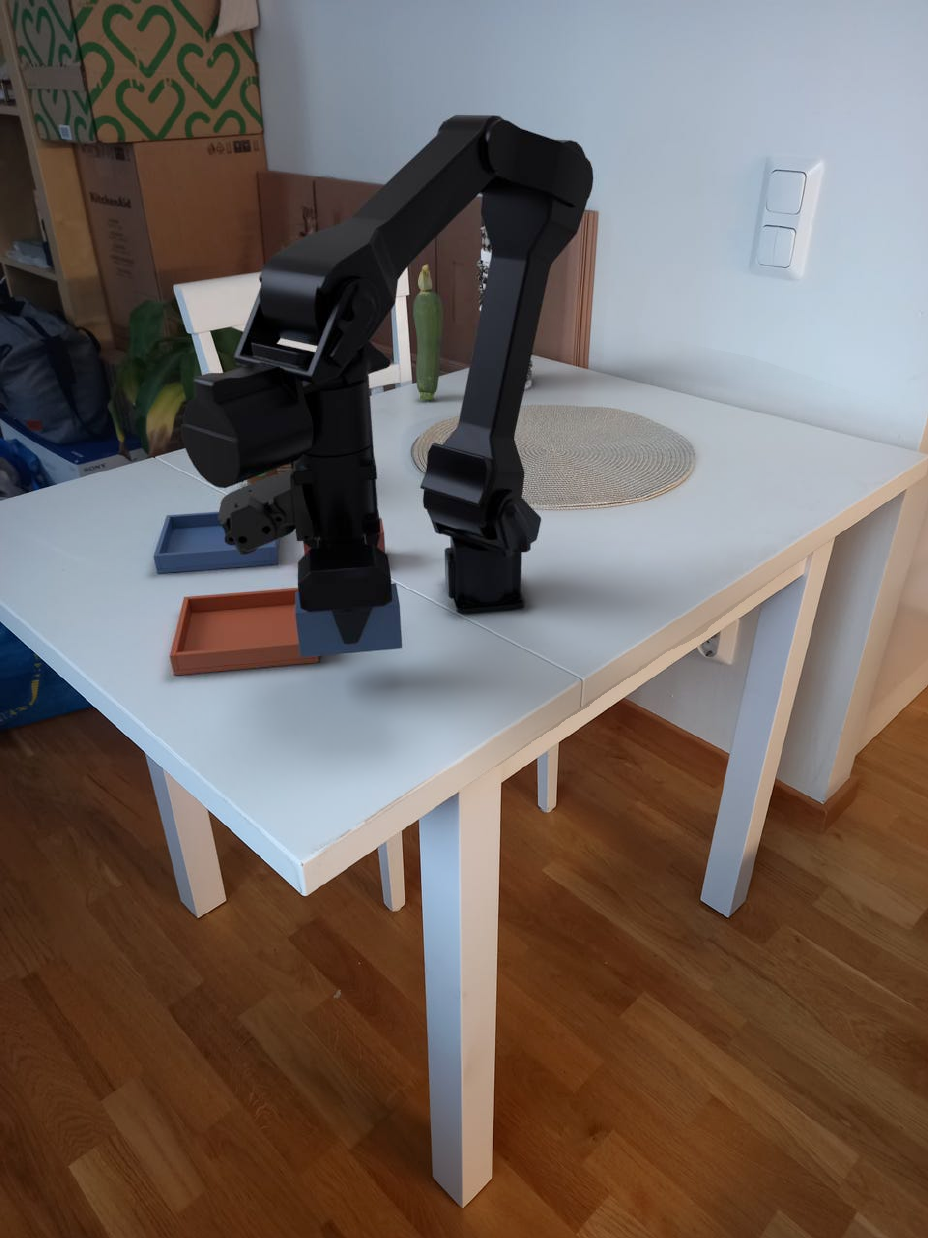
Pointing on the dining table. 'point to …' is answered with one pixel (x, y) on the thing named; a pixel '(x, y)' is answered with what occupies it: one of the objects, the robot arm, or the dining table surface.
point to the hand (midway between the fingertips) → (350, 629)
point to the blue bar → (325, 638)
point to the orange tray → (237, 632)
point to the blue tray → (203, 546)
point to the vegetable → (427, 335)
